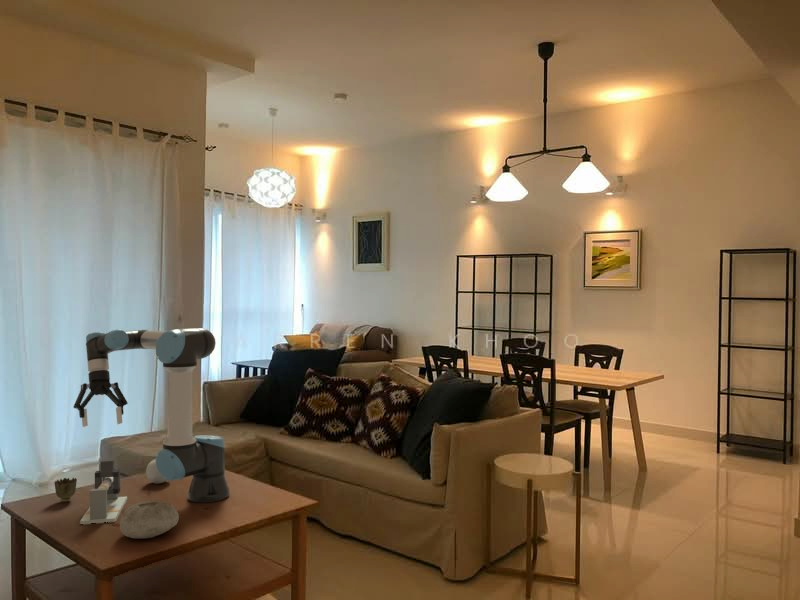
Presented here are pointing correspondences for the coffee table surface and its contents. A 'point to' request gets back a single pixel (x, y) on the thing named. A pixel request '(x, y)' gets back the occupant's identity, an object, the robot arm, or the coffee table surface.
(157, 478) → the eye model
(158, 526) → the grey stone
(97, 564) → the coffee table surface
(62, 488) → the cup
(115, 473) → the collar
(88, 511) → the pipe stand
